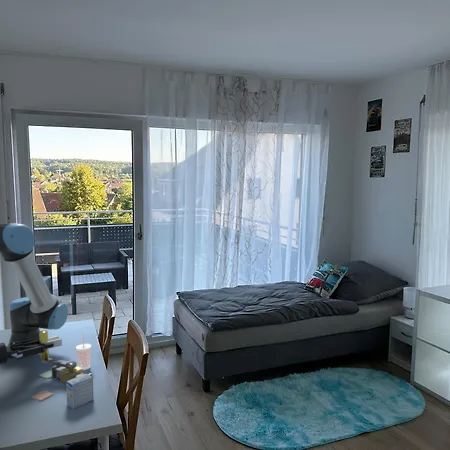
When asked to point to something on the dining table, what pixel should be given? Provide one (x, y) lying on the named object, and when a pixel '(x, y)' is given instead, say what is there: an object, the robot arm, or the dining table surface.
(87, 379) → the medicine box
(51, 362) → the lever
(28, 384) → the dining table surface
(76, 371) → the valve
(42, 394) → the closed pad
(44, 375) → the open pad
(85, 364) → the beverage cup
